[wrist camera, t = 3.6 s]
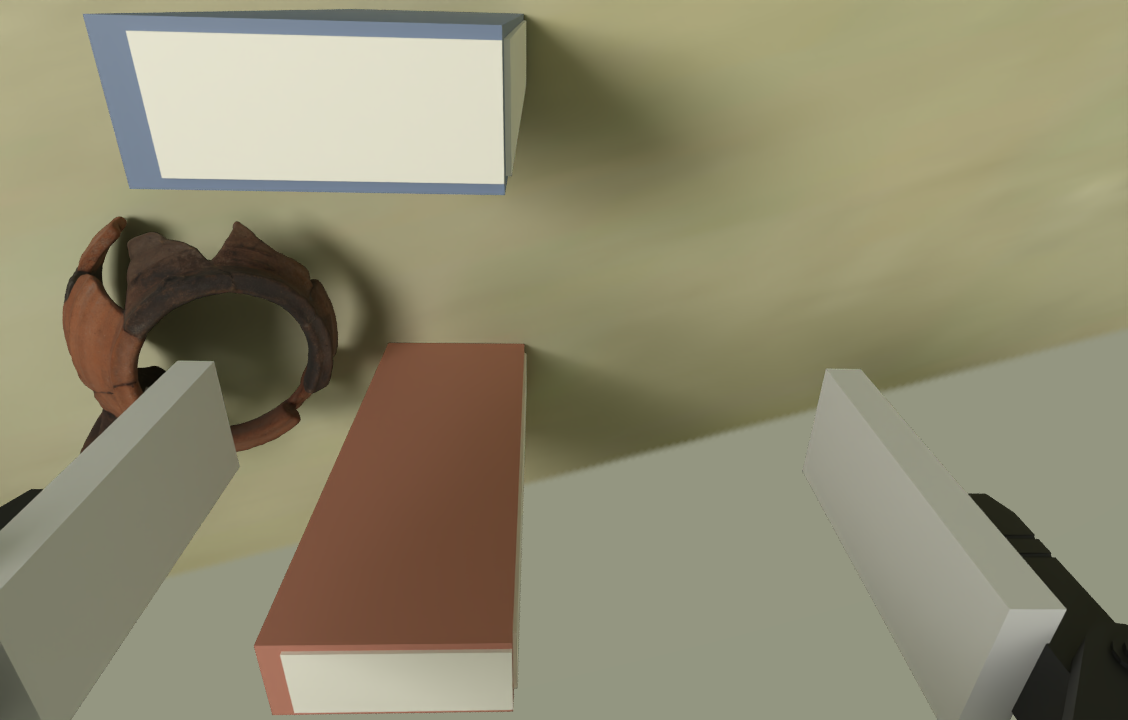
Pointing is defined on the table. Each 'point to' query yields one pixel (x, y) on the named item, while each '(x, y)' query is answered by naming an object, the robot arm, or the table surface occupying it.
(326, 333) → the pottery mug
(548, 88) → the table surface
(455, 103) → the navy book
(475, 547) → the brick red book
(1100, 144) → the table surface
